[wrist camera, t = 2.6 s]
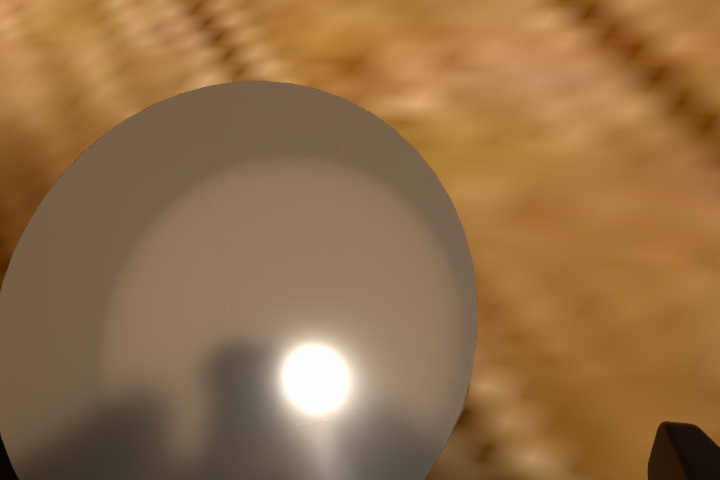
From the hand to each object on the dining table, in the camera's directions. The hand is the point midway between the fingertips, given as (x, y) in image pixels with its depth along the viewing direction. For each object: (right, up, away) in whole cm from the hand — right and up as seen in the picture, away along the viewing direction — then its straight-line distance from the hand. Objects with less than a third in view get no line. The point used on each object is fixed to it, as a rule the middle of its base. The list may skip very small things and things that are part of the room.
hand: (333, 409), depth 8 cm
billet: (+2, -2, +8) cm, 9 cm away
